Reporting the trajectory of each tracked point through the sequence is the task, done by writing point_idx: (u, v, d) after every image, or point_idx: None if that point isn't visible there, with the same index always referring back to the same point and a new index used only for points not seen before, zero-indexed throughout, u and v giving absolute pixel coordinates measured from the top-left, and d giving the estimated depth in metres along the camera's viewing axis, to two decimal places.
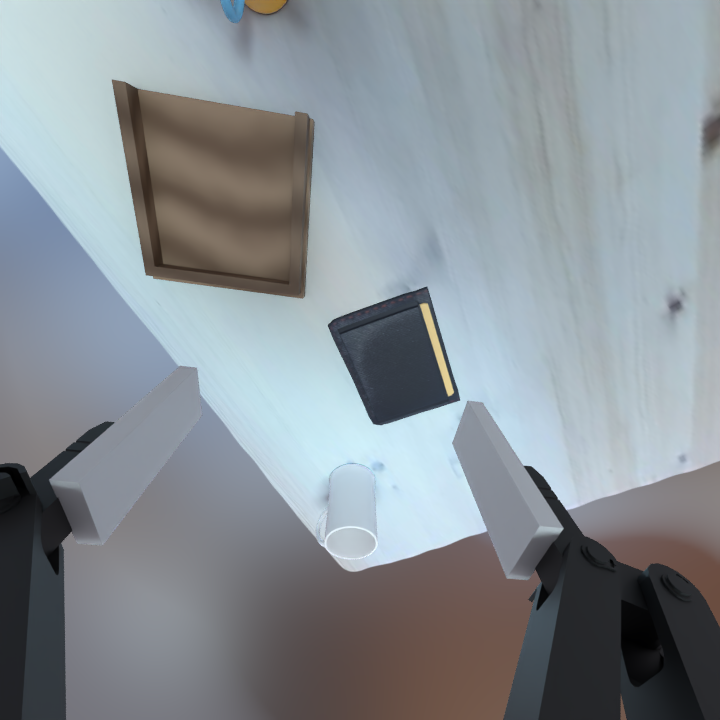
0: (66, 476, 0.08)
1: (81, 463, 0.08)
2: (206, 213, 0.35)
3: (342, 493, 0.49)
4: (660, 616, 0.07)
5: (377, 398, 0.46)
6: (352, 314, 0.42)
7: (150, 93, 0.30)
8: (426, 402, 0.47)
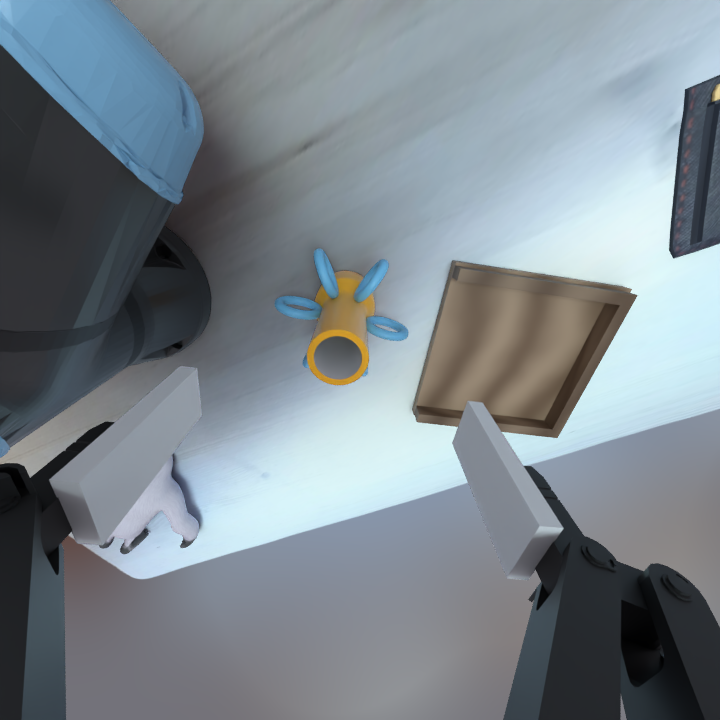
0: (66, 476, 0.08)
1: (81, 463, 0.08)
2: (512, 375, 0.36)
3: None
4: (660, 616, 0.07)
5: None
6: (675, 220, 0.29)
7: (420, 397, 0.37)
8: None
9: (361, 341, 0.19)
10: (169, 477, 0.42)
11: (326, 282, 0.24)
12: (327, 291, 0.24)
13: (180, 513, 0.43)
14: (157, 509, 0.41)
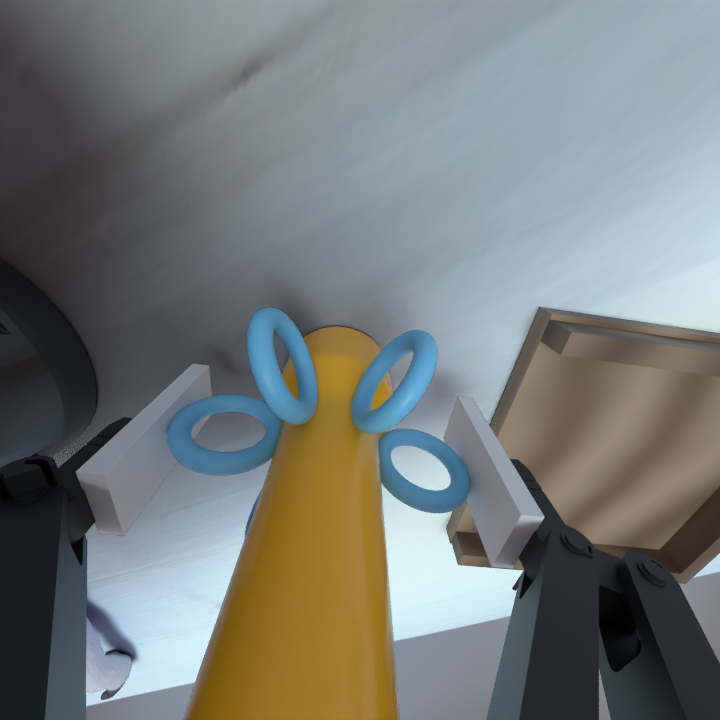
0: (91, 468, 0.08)
1: (105, 456, 0.09)
2: (621, 491, 0.21)
3: None
4: (637, 602, 0.08)
5: None
6: None
7: (462, 521, 0.23)
8: None
9: None
10: None
11: (278, 404, 0.09)
12: (284, 420, 0.10)
13: (89, 669, 0.28)
14: None
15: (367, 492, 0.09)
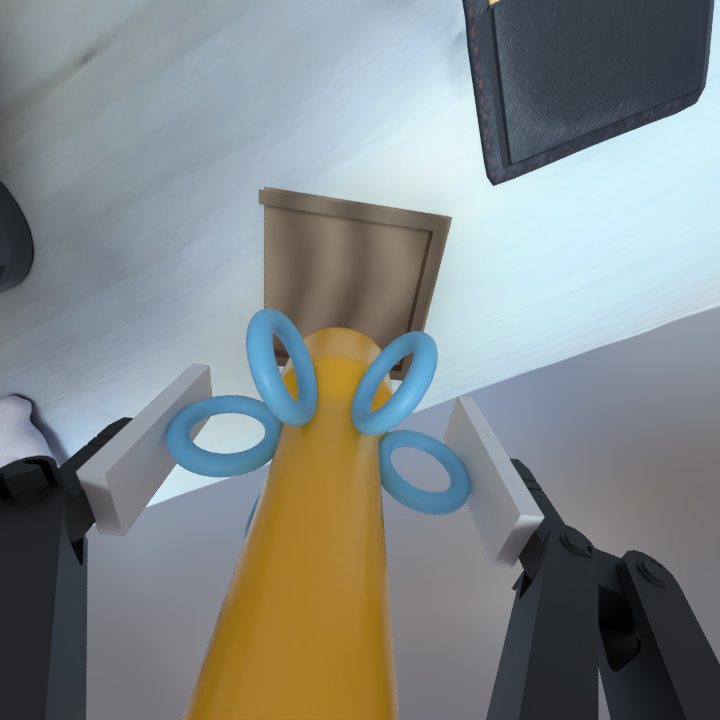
0: (92, 468, 0.08)
1: (105, 456, 0.09)
2: (354, 314, 0.35)
3: None
4: (636, 602, 0.08)
5: (645, 92, 0.26)
6: (484, 143, 0.29)
7: None
8: None
9: None
10: (24, 423, 0.41)
11: (278, 406, 0.09)
12: (283, 421, 0.10)
13: None
14: (9, 455, 0.40)
15: (367, 494, 0.09)
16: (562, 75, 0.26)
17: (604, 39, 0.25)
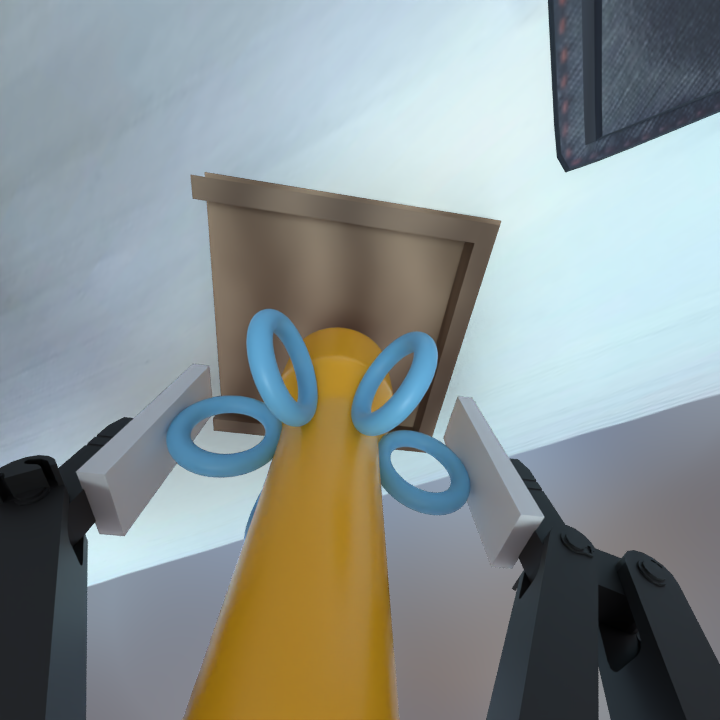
0: (92, 468, 0.08)
1: (105, 456, 0.09)
2: None
3: None
4: (636, 602, 0.08)
5: None
6: (558, 101, 0.18)
7: (223, 394, 0.26)
8: None
9: None
10: None
11: (278, 406, 0.09)
12: (283, 422, 0.10)
13: None
14: None
15: (367, 494, 0.09)
16: None
17: None
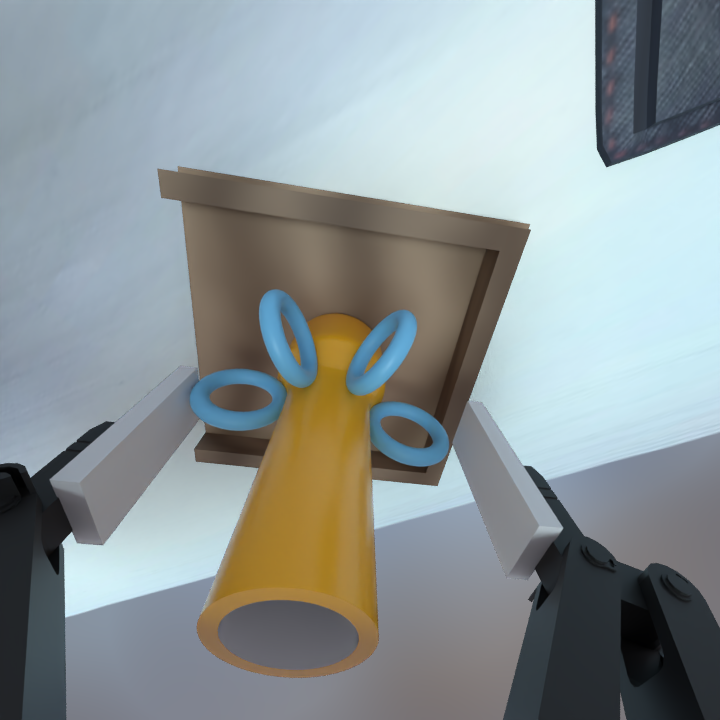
0: (66, 476, 0.08)
1: (81, 463, 0.08)
2: None
3: None
4: (659, 616, 0.07)
5: None
6: (603, 81, 0.15)
7: None
8: None
9: (357, 610, 0.06)
10: None
11: (284, 366, 0.11)
12: (289, 381, 0.12)
13: None
14: None
15: (357, 437, 0.11)
16: None
17: None
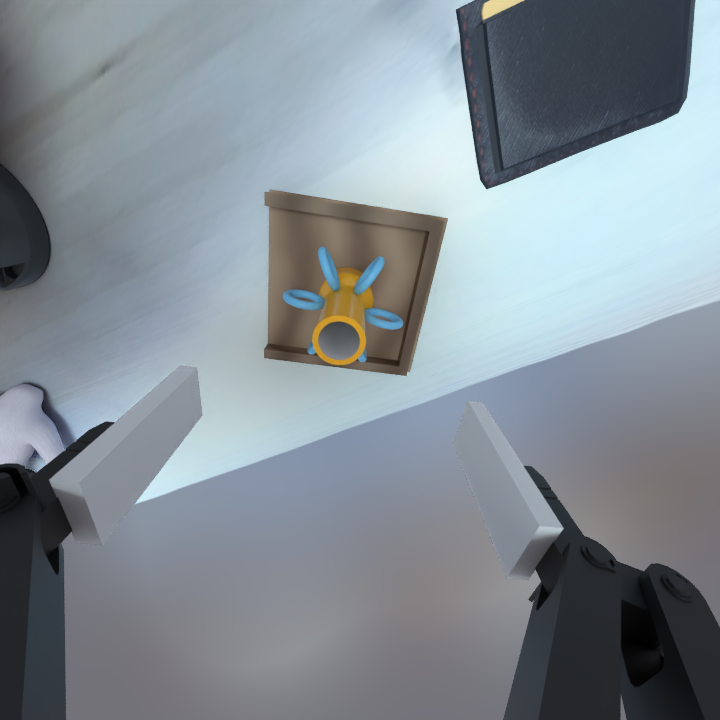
0: (66, 476, 0.08)
1: (81, 463, 0.08)
2: None
3: None
4: (660, 616, 0.07)
5: (629, 102, 0.28)
6: (478, 148, 0.30)
7: (269, 335, 0.38)
8: None
9: (359, 326, 0.22)
10: (36, 410, 0.42)
11: (329, 276, 0.27)
12: (330, 284, 0.27)
13: (52, 448, 0.44)
14: (22, 441, 0.41)
15: (359, 304, 0.26)
16: (551, 86, 0.28)
17: (590, 53, 0.27)
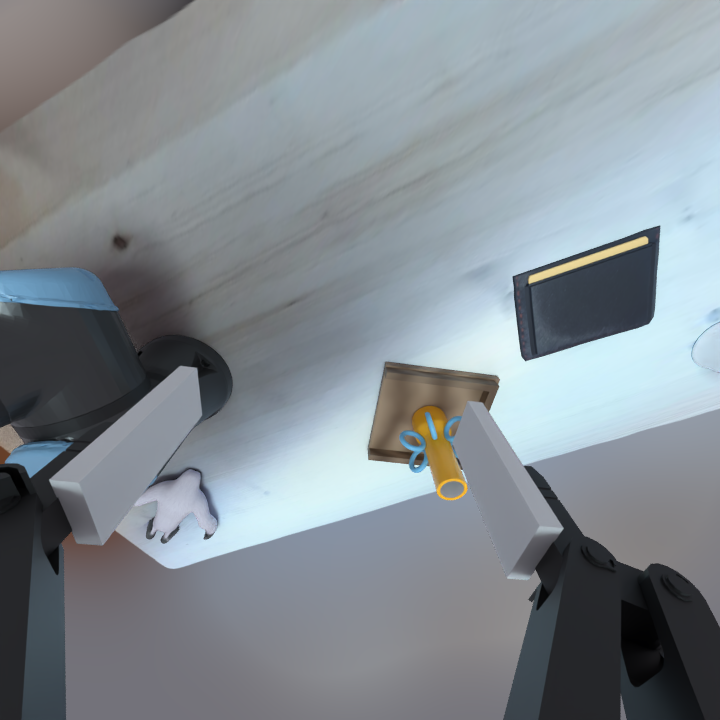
0: (66, 476, 0.08)
1: (81, 463, 0.08)
2: None
3: None
4: (660, 616, 0.07)
5: (617, 323, 0.45)
6: (521, 341, 0.48)
7: (371, 443, 0.55)
8: (645, 270, 0.42)
9: (465, 483, 0.39)
10: (198, 488, 0.59)
11: (435, 436, 0.44)
12: (434, 438, 0.44)
13: (205, 514, 0.60)
14: (190, 511, 0.58)
15: (453, 453, 0.43)
16: (569, 315, 0.45)
17: (593, 300, 0.44)
